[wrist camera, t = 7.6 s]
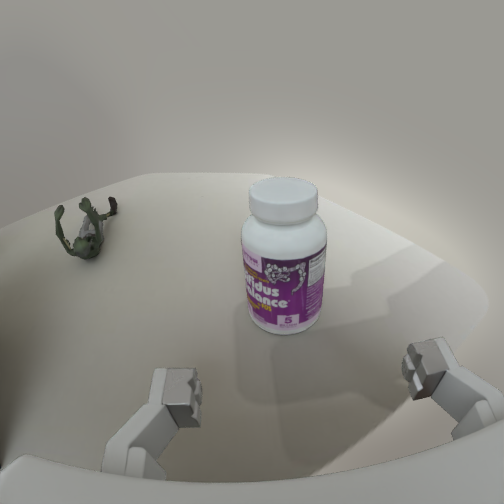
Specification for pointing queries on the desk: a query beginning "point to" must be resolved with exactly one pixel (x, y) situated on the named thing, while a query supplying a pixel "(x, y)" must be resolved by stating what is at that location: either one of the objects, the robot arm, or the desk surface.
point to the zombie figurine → (85, 229)
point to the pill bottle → (284, 255)
